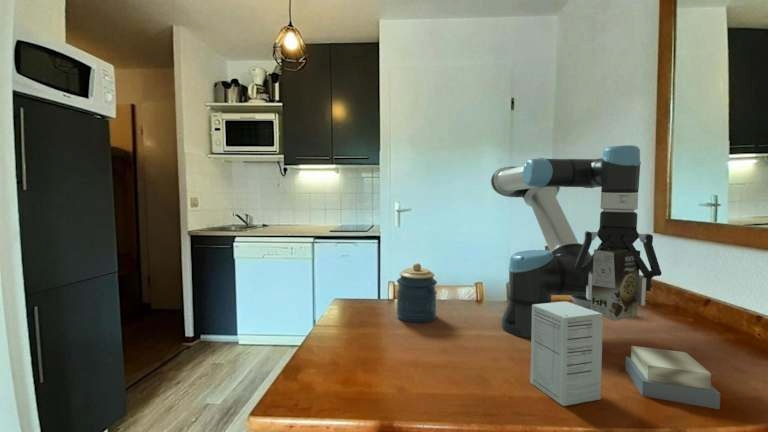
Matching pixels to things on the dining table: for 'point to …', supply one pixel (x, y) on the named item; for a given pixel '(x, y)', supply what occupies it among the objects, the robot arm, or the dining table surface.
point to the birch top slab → (670, 367)
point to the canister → (416, 295)
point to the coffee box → (615, 283)
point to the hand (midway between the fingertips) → (614, 301)
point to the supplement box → (566, 352)
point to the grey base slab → (672, 389)
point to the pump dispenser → (581, 301)
